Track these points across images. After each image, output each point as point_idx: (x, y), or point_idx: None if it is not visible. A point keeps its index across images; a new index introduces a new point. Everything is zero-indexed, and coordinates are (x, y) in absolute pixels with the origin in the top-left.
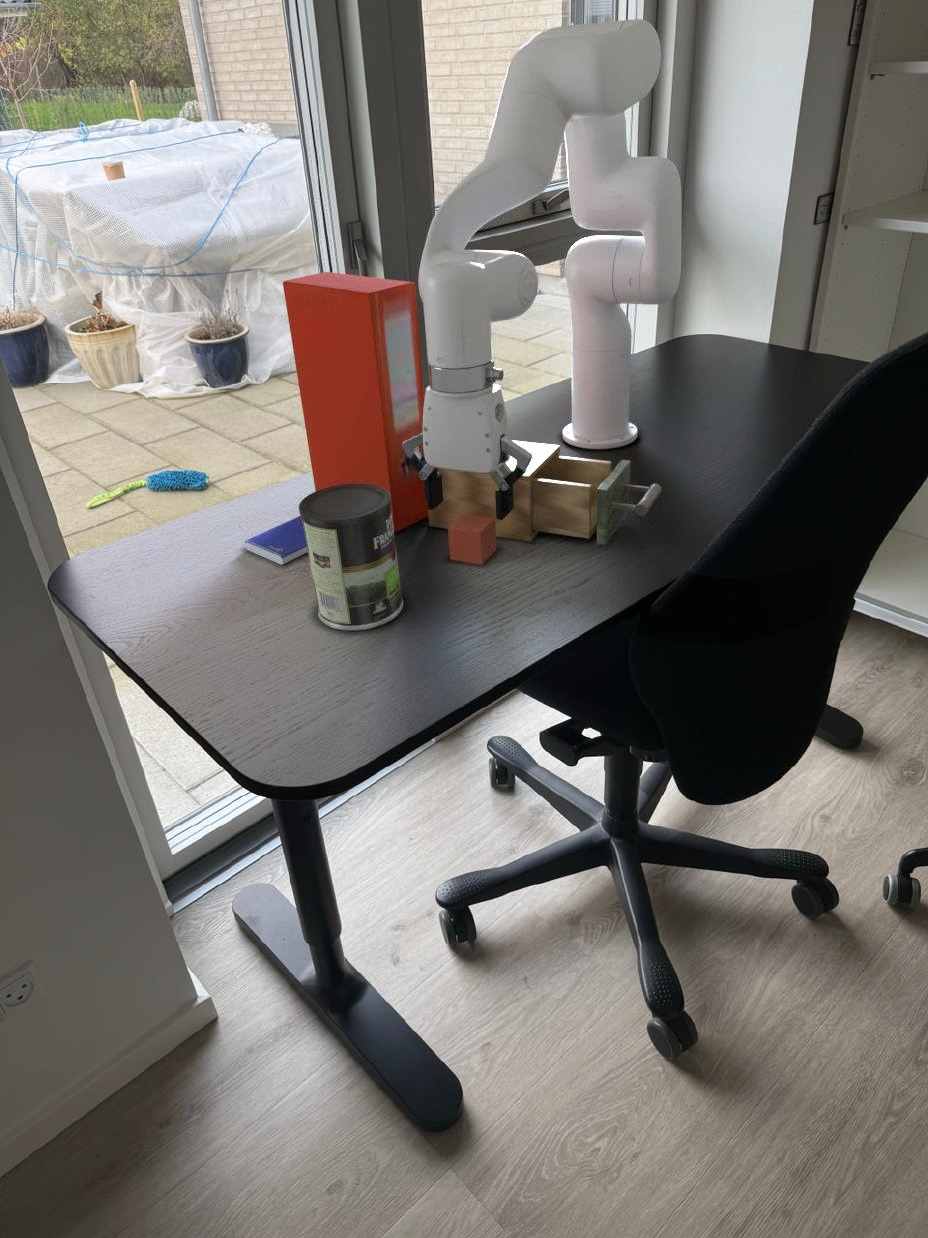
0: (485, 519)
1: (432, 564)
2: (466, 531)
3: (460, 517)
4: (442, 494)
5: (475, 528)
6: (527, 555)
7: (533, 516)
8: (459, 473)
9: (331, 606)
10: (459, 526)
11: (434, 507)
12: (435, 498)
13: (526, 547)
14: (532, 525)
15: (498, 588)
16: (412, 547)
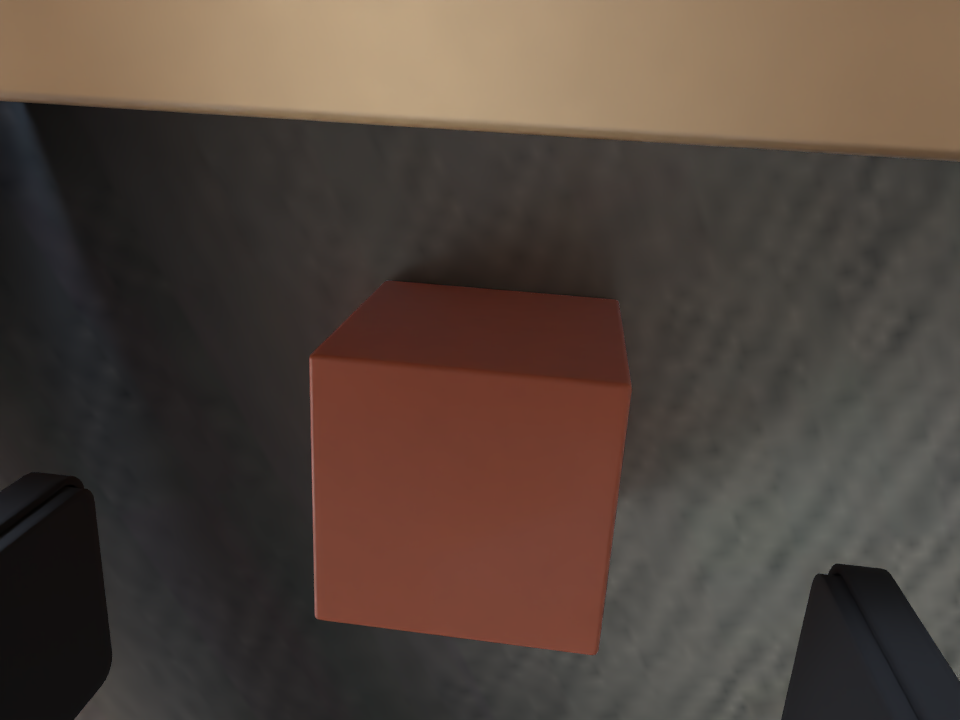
0: (554, 432)
1: (309, 548)
2: (476, 637)
3: (322, 438)
4: (43, 526)
5: (532, 600)
6: (859, 327)
7: None
8: None
9: None
10: (389, 582)
11: (105, 650)
12: (51, 677)
13: (826, 213)
14: None
15: (768, 712)
16: (91, 388)
